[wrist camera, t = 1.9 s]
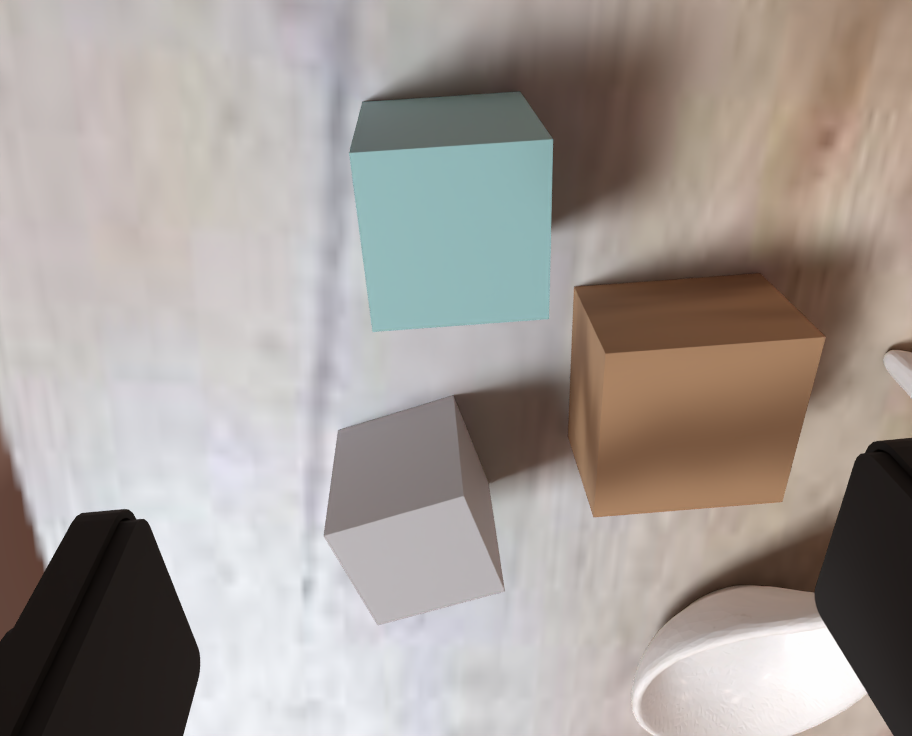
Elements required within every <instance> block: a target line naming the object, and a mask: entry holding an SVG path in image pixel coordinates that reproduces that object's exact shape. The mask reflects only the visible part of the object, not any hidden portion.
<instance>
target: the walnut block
mask: <svg viewBox="0 0 912 736" xmlns="http://www.w3.org/2000/svg"><path fill="white" fill-rule="evenodd" d="M825 338H826V337H825V336H824V335H823V334H822V333H821V332H820V331H819V330H818V329H817V328H816V327H815V326H814V325H813V324H812V323H811V322H810V321H809V320H808V319H807V318H806V317H805V316H804V315H803V314H802V313H801V312H800V311H799V310H798V309H797V308H796V307H795V306H794V305H793V304H792V303H790V302H789V301H788V300H787V299H786V298H785V297H784V296H783V295H782V294H781V293H780V292H779V291H778V290H777V289H776V288H775V287H774V286H773V285H772V284H771V283H770V282H769V281H768V280H767V279H766V278H765V277H764V276H763V275H762V274H761V273H755V274H741V275H727V276H714V277H700V278H687V279H673V280H659V281H646V282H632V283H619V284H605V285H591V286H578V287H574V301H573V325H572V349H571V373H570V397H569V421H568V438H569V442H570V445H571V448H572V451H573V454H574V457H575V460H576V464H577V467H578V470H579V473H580V476H581V479H582V482H583V486H584V489H585V492H586V495H587V498H588V501H589V504H590V508H591V511H592V514H593V517H603V516H616V515H628V514H640V513H652V512H665V511H677V510H689V509H701V508H714V507H726V506H738V505H750V504H763V503H775V502H782V501H783V497H784V493H785V489H786V486H787V482H788V478H789V474H790V471H791V467H792V463H793V459H794V455H795V452H796V448H797V444H798V440H799V437H800V433H801V429H802V425H803V421H804V418H805V414H806V410H807V406H808V403H809V399H810V395H811V391H812V388H813V384H814V380H815V376H816V372H817V369H818V365H819V361H820V357H821V354H822V350H823V346H824V342H825Z"/></svg>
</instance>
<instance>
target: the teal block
mask: <svg viewBox="0 0 912 736" xmlns="http://www.w3.org/2000/svg"><path fill="white" fill-rule="evenodd" d="M349 156H350V163H351V171H352V178H353V186H354V194H355V201H356V209H357V217H358V224H359V232H360V240H361V247H362V255H363V262H364V270H365V278H366V285H367V293H368V301H369V308H370V316H371V324H372V331H373V332H378V331H392V330H405V329H419V328H433V327H446V326H460V325H474V324H487V323H501V322H515V321H528V320H542V319H549V297H550V253H551V208H552V164H553V138H552V137H551V136H550V134H549V133H548V131H547V130H546V128H545V127H544V125H543V124H542V123H541V121H540V120H539V118H538V117H537V115H536V114H535V112H534V111H533V110H532V108H531V107H530V105H529V104H528V102H527V101H526V99H525V98H524V97H523V95H522V94H521V92H504V93H489V94H474V95H459V96H444V97H429V98H414V99H398V100H383V101H368V102H362V105H361V109H360V113H359V117H358V121H357V125H356V128H355V132H354V136H353V140H352V144H351V148H350V152H349Z"/></svg>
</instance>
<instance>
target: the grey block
mask: <svg viewBox="0 0 912 736" xmlns="http://www.w3.org/2000/svg"><path fill="white" fill-rule="evenodd" d="M324 537H325V539H326V541H327V542H328V544H329V546H330V547H331V549H332V551H333V552H334V554H335V556H336V557H337V559H338V561H339V562H340V564H341V566H342V567H343V569H344V571H345V572H346V574H347V575H348V577H349V579H350V580H351V582H352V584H353V585H354V587H355V589H356V590H357V592H358V594H359V595H360V597H361V599H362V600H363V602H364V604H365V605H366V607H367V609H368V610H369V612H370V614H371V615H372V617H373V619H374V620H375V622H376V623H377V625H381V624H385V623H389V622H392V621H396V620H400V619H403V618H407V617H411V616H415V615H418V614H422V613H426V612H430V611H433V610H437V609H441V608H445V607H448V606H452V605H456V604H459V603H463V602H467V601H471V600H474V599H478V598H482V597H486V596H489V595H493V594H497V593H501V592H504V591H505V589H504V583H503V576H502V569H501V563H500V556H499V549H498V542H497V536H496V529H495V522H494V516H493V509H492V502H491V496H490V489H489V483H488V481H487V478H486V476H485V473H484V471H483V468H482V466H481V463H480V461H479V458H478V456H477V453H476V451H475V448H474V446H473V443H472V441H471V438H470V436H469V433H468V431H467V428H466V426H465V423H464V421H463V418H462V416H461V413H460V411H459V408H458V406H457V403H456V401H455V398H454V396H453V395H452V396H449V397H446V398H443V399H439V400H436V401H433V402H429V403H426V404H423V405H420V406H416V407H413V408H410V409H406V410H403V411H400V412H396V413H393V414H390V415H387V416H383V417H380V418H377V419H373V420H370V421H367V422H363V423H360V424H357V425H354V426H350V427H347V428H344V429H340V430H338V434H337V442H336V449H335V456H334V464H333V471H332V478H331V486H330V493H329V500H328V508H327V515H326V523H325V530H324Z"/></svg>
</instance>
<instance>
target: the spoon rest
mask: <svg viewBox="0 0 912 736" xmlns="http://www.w3.org/2000/svg"><path fill="white" fill-rule="evenodd" d="M883 362H884V365H885V367H886V369H887V370H888V372H889V374H890V375H891V376H892V377H893V378H894V379H895V380H896V382H897V383H898V384H899V385H900V386H901V387H902V388H903V389H904V390H905V391H906V392H907V393H908V395H909V396H910V397H911V399H912V352H908V351H902V350H891V351H888V352H887V353H886V354H885V356H884V360H883ZM867 694H868V693H867V692H866V690H865V688H864V687H863V685H862V684H861V682H860V680H859V679H858V677H857V675H856V674H855V672H854V671H853V669H852V667H851V666H850V664H849V662H848V661H847V659H846V658H845V656H844V654H843V653H842V651H841V650H840V648H839V646H838V645H837V643H836V641H835V640H834V638H833V637H832V635H831V633H830V632H829V630H828V628H827V627H826V625H825V624H824V622H823V620H822V619H821V617H820V615H819V613H818V610H817V607H816V603H815V592H806V591H799V590H792V589H786V588H779V587H769V586H757V585H739V586H732V587H727V588H723V589H719V590H717V591H714V592H711V593H709V594H707V595H704V596H703V597H701V598H699V599H697V600H696V601H694V602H693V603H691V604H690V605H689V606H687V607H686V608H685V609H684V610H683V611H681V612H680V613H678V614H677V615H675V616H674V617H673V618H672V619H671V620H669V621H668V622H667V623H666V624H665V625H664V626H663V627H662V628H661V629H660V630H659V632H658V633H657V634H656V635H655V636H654V638H653V639H652V640H651V642H650V643H649V645H648V647H647V648H646V650H645V652H644V654H643V656H642V658H641V660H640V662H639V665H638V668H637V670H636V673H635V677H634V681H633V687H632V692H631V707H632V711H633V714H634V716H635V718H636V720H637V722H638V723H639V724H640V725H641V726H642V727H643V728H644V729H645V730H646V731H648V732H649V733H651V734H652V735H654V736H791V735H794V734H797V733H800V732H802V731H805V730H807V729H810V728H812V727H815V726H817V725H819V724H821V723H823V722H825V721H827V720H829V719H830V718H832V717H834V716H836V715H838V714H839V713H841V712H843V711H845V710H846V709H848V708H849V707H850V706H852V705H853V704H855V703H856V702H858V701H859V700H860V699H862V698H863V697H864V696H865V695H867Z"/></svg>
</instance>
